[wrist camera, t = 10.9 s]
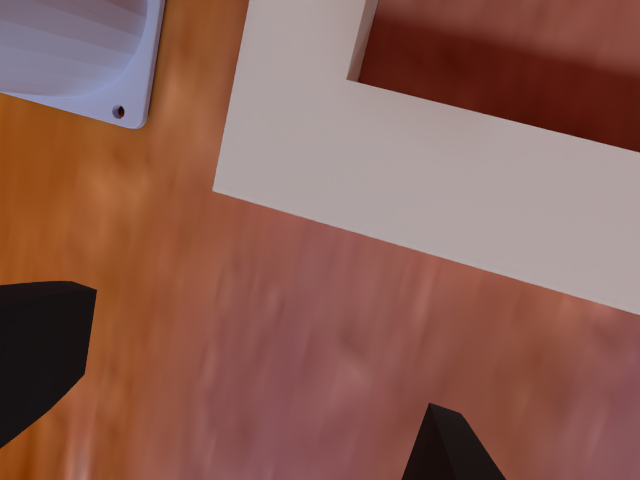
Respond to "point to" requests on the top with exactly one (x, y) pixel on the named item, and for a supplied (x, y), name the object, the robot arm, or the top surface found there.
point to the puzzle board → (421, 162)
